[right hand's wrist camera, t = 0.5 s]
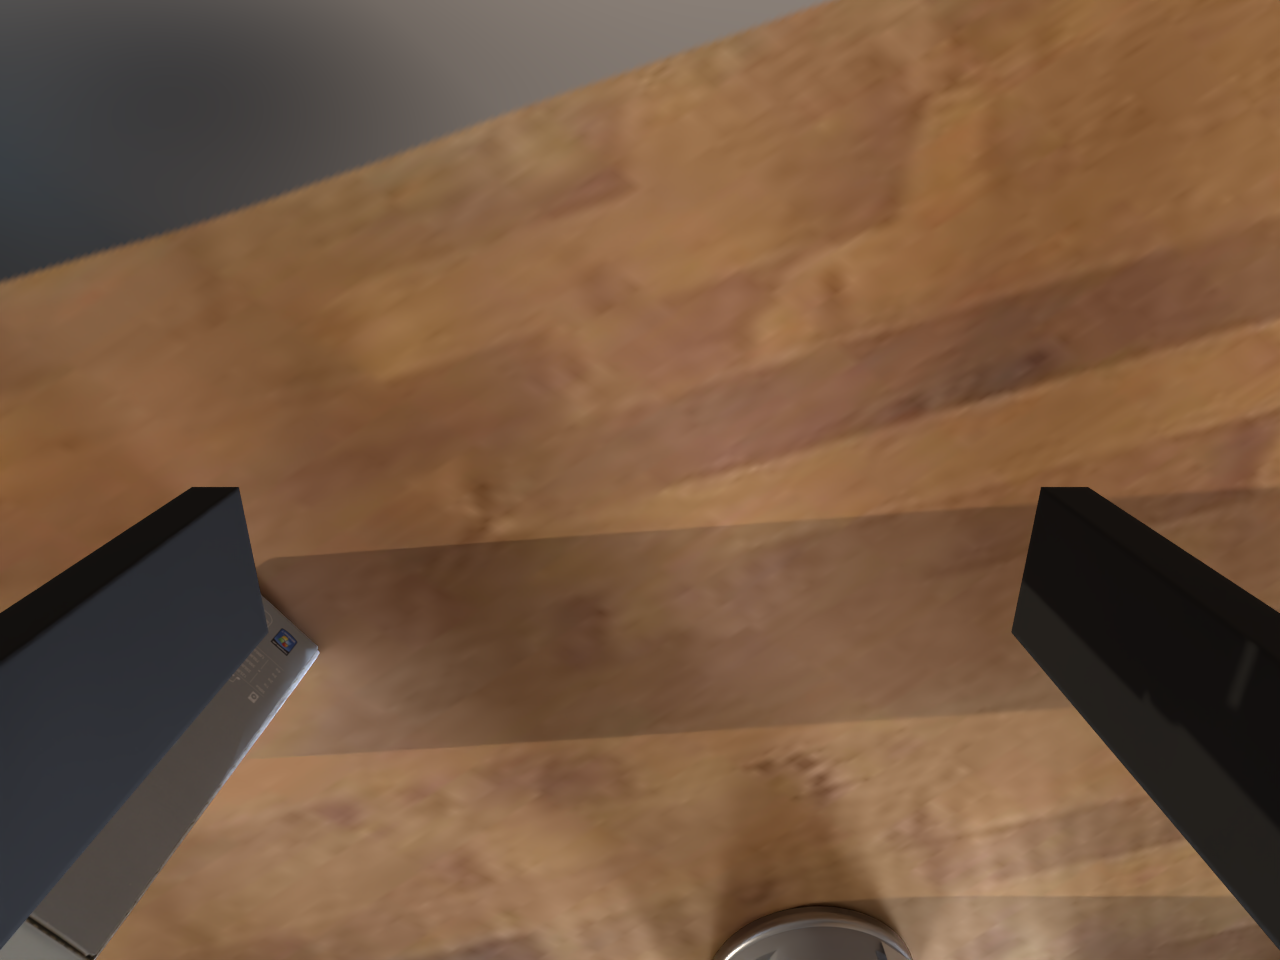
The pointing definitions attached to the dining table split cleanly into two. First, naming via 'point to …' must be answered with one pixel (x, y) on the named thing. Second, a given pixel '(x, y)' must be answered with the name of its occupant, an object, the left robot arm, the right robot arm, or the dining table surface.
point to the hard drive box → (164, 805)
